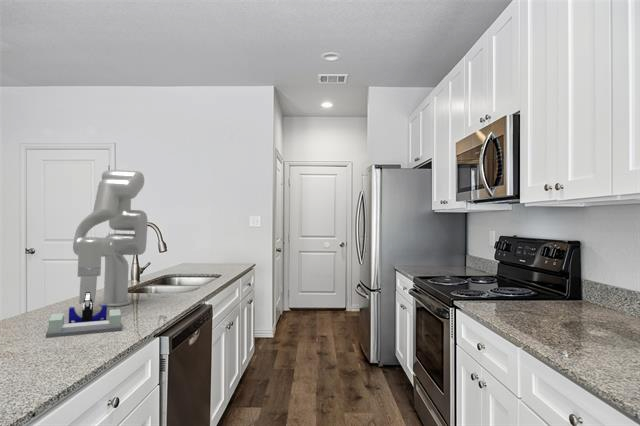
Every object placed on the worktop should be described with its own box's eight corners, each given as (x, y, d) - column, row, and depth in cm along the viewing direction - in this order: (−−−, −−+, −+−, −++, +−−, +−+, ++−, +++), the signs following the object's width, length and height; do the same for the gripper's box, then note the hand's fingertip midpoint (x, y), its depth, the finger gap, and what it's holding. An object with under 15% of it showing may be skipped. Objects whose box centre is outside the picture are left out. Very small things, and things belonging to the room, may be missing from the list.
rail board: (50, 328, 139) (50, 313, 139) (120, 322, 149) (121, 308, 150) (45, 337, 128) (46, 321, 129) (122, 330, 139) (122, 315, 139)
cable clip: (106, 319, 153) (106, 304, 153) (106, 322, 149) (106, 306, 150) (69, 322, 148) (69, 306, 148) (68, 325, 144) (69, 309, 144)
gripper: (78, 269, 156) (77, 313, 155) (76, 275, 140) (74, 324, 140) (100, 268, 159) (99, 312, 159) (100, 274, 144) (98, 322, 144)
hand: (87, 317), depth 150 cm, fingers open, 9 cm apart
